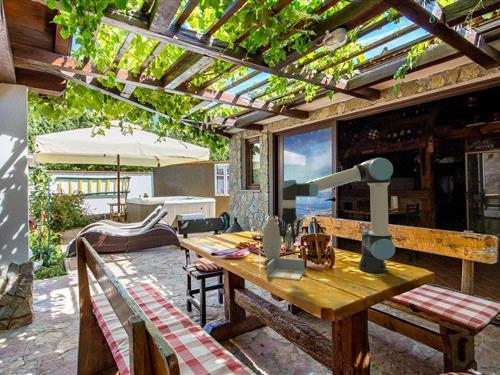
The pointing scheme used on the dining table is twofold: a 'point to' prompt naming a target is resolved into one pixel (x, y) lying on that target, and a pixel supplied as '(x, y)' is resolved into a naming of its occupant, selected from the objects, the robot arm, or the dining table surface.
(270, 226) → the vase
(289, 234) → the mechanical component
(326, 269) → the dining table surface
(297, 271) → the tray
